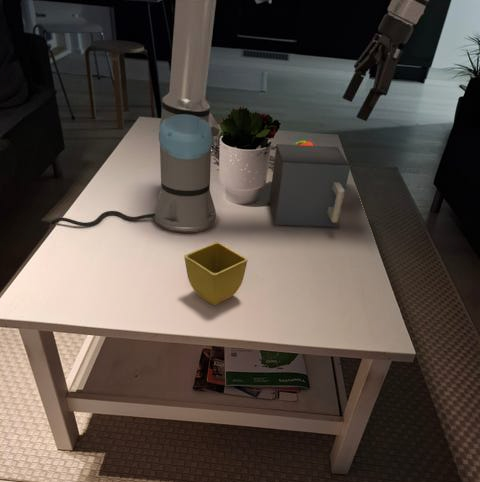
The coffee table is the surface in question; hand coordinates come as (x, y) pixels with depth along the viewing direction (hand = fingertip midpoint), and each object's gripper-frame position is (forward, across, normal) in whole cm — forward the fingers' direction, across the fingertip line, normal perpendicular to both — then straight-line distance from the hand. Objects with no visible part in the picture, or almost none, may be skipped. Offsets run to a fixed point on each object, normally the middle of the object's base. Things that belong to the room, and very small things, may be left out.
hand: (353, 109), depth 122 cm
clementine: (+26, +24, -3) cm, 35 cm away
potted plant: (+37, +38, +30) cm, 60 cm away
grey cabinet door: (+25, -23, +6) cm, 35 cm away
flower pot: (+30, -51, +31) cm, 67 cm away
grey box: (+25, -14, +6) cm, 30 cm away
